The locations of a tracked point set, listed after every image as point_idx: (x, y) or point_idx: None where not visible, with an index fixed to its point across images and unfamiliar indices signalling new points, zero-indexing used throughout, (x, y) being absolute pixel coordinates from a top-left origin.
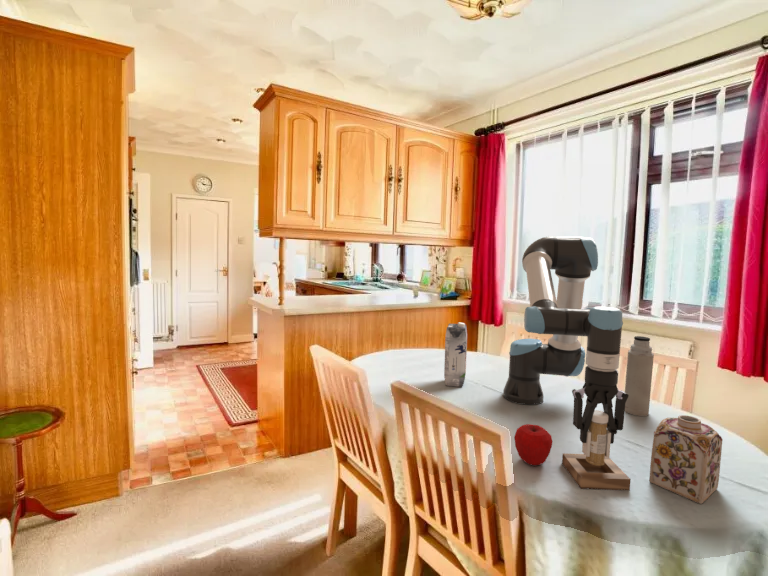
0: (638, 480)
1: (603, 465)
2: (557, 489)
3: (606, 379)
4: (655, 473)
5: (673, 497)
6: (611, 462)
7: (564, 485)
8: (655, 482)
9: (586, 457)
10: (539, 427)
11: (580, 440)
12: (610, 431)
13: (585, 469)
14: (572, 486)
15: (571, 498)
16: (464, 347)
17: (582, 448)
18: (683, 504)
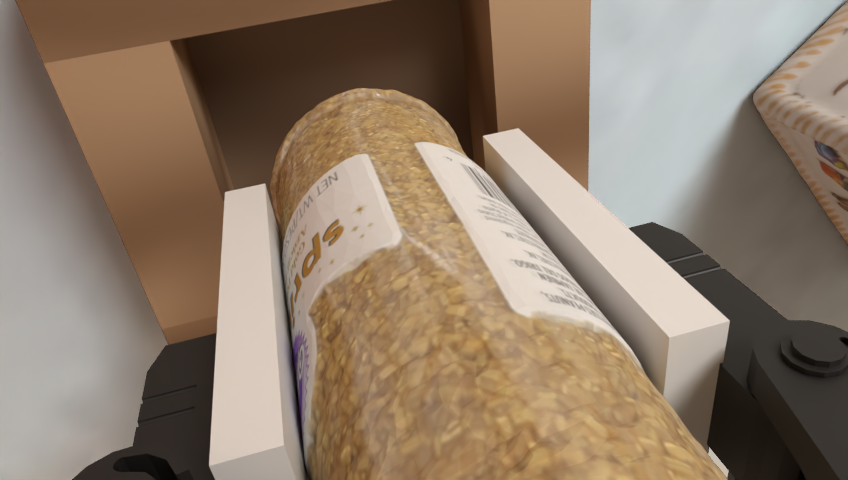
0: (685, 84)
1: (476, 25)
2: (11, 391)
3: None
4: (828, 156)
5: (771, 237)
6: (563, 38)
7: (68, 325)
8: (777, 130)
9: (277, 203)
10: None
11: (167, 352)
12: (727, 449)
13: (287, 43)
14: (135, 318)
15: (119, 449)
16: None
17: (226, 218)
18: (772, 289)
